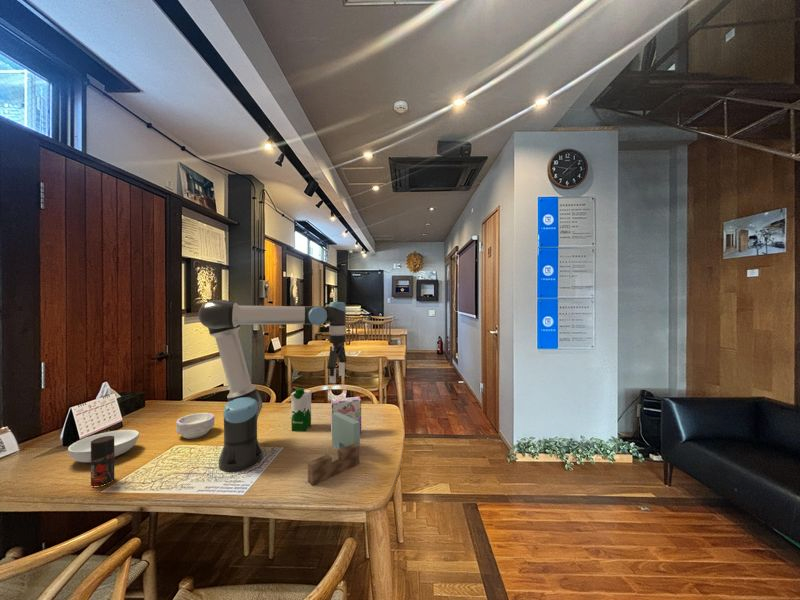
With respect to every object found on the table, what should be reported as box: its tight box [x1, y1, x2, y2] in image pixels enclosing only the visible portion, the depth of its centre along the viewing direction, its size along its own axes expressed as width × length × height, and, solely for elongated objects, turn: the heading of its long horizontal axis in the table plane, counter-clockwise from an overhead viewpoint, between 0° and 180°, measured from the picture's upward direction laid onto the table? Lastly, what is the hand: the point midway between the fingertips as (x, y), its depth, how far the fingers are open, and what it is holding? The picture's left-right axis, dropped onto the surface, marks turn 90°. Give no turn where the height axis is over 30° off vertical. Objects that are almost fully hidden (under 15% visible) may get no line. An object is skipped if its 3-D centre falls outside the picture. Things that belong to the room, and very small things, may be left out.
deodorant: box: [90, 436, 115, 488], centre depth 108 cm, size 6×6×15 cm
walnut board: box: [307, 443, 361, 486], centre depth 113 cm, size 20×3×7 cm, turn 134°
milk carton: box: [290, 387, 313, 432], centre depth 153 cm, size 9×9×20 cm
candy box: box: [330, 396, 362, 436], centre depth 146 cm, size 14×6×16 cm, turn 105°
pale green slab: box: [331, 412, 361, 451], centre depth 129 cm, size 3×16×14 cm, turn 44°
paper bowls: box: [175, 412, 215, 440], centre depth 146 cm, size 15×15×8 cm
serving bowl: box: [67, 429, 140, 463], centre depth 126 cm, size 21×21×7 cm
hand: (337, 379), depth 146 cm, fingers open, 13 cm apart
